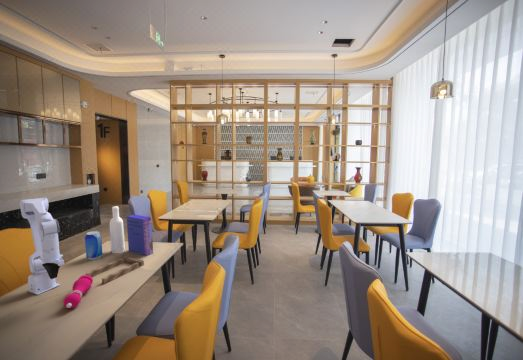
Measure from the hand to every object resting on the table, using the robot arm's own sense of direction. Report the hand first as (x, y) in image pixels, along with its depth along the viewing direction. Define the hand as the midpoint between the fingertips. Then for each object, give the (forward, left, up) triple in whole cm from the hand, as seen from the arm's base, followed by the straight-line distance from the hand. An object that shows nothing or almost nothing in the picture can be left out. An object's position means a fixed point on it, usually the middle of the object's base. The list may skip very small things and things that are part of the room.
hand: (53, 277), depth 112 cm
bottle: (+49, +26, -11) cm, 56 cm away
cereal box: (+54, +11, -11) cm, 56 cm away
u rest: (+29, +1, -10) cm, 31 cm away
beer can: (+36, +30, -11) cm, 48 cm away
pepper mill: (+12, -2, -7) cm, 14 cm away
